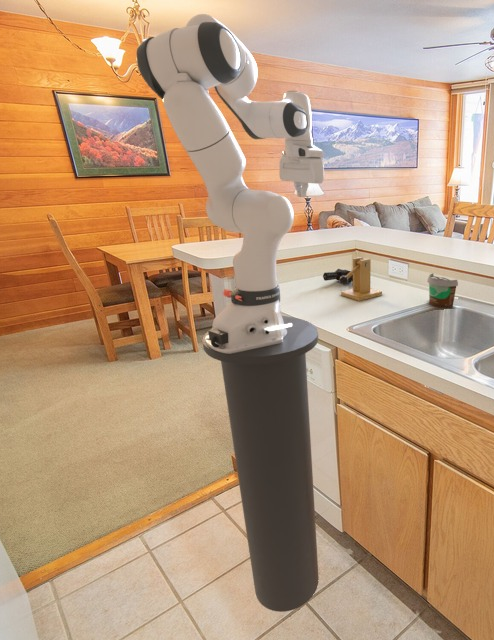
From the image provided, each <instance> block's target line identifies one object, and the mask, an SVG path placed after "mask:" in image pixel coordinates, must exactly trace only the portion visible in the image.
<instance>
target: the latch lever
mask: <svg viewBox="0 0 494 640" xmlns="http://www.w3.org/2000/svg"><path fill="white" fill-rule="evenodd" d="M364 259H365V258H363V259H362V258H361V259H360V260H364ZM360 260H359V261H357V262H356V264H357V266H356V267H355V268H354V269H353V268H352V269H351V270H349V271H350V272H349V273H348V274H347V275H346V276H341V277H340V279H339V281H338V282H339V284H340V285H343V286H345V285H347V284H349V283H348V278H350V277H351V276H352V275H353V274H354V273H355V272H356V271H357V270H358V269H359V268H360Z"/></svg>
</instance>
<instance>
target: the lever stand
mask: <svg viewBox="0 0 494 640" xmlns="http://www.w3.org/2000/svg"><path fill="white" fill-rule="evenodd" d="M361 258H362V259H364V260H360V259H361ZM359 260H360V268H359V269H358V270H357V271H356V272H355V273H354V274H353V281H352V288H351V289H346V290H342V291H340V295H341V296H342V297H345V298H348V299H351V300H354V301H357V302H361V301H364V300H368V299H373V298H375V297H379V296H382V295H383V291H382V290H378V289H375V288H373V287H372V288H371V271H372V270H371V268H372V266H371V264H372V261H371V260H372V259H371V258H364V257H363V256H359V257H353V258H352V269H354V268H355V267H356V266H357V264H356V262H357V261H359Z"/></svg>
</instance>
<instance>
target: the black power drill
mask: <svg viewBox="0 0 494 640" xmlns="http://www.w3.org/2000/svg"><path fill="white" fill-rule="evenodd" d="M350 271H351V270H348V269H341V268H337V269H336V270H335V271H330V272H329V271H328V272H327V271H326V272H324V273H323V275H322V278H323V281H324V282H325V281H326V282H327V281H333V280H336V281H338V282H339V279H340V277H341V276H346V275H347V274H348V273H349V272H350ZM351 282H353V275H352V276H351V277H350V278H348V283H347V284H350V283H351Z"/></svg>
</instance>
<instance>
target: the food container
mask: <svg viewBox="0 0 494 640" xmlns="http://www.w3.org/2000/svg"><path fill="white" fill-rule="evenodd" d="M426 280H427V283H428V287H429V288H428V289H429V290H428V293H429V295H428V298H429V301H428V302H429V305H431V306H433V307H436V308H443V309H444V308H447V309H448V308H453V307H454V301H455V297H456V290H457V287H458V286H459V281H458V279H449V278H447V277H439V276H435V275H434V272H433V273H430V274H429V275H428V277H427V279H426Z"/></svg>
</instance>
